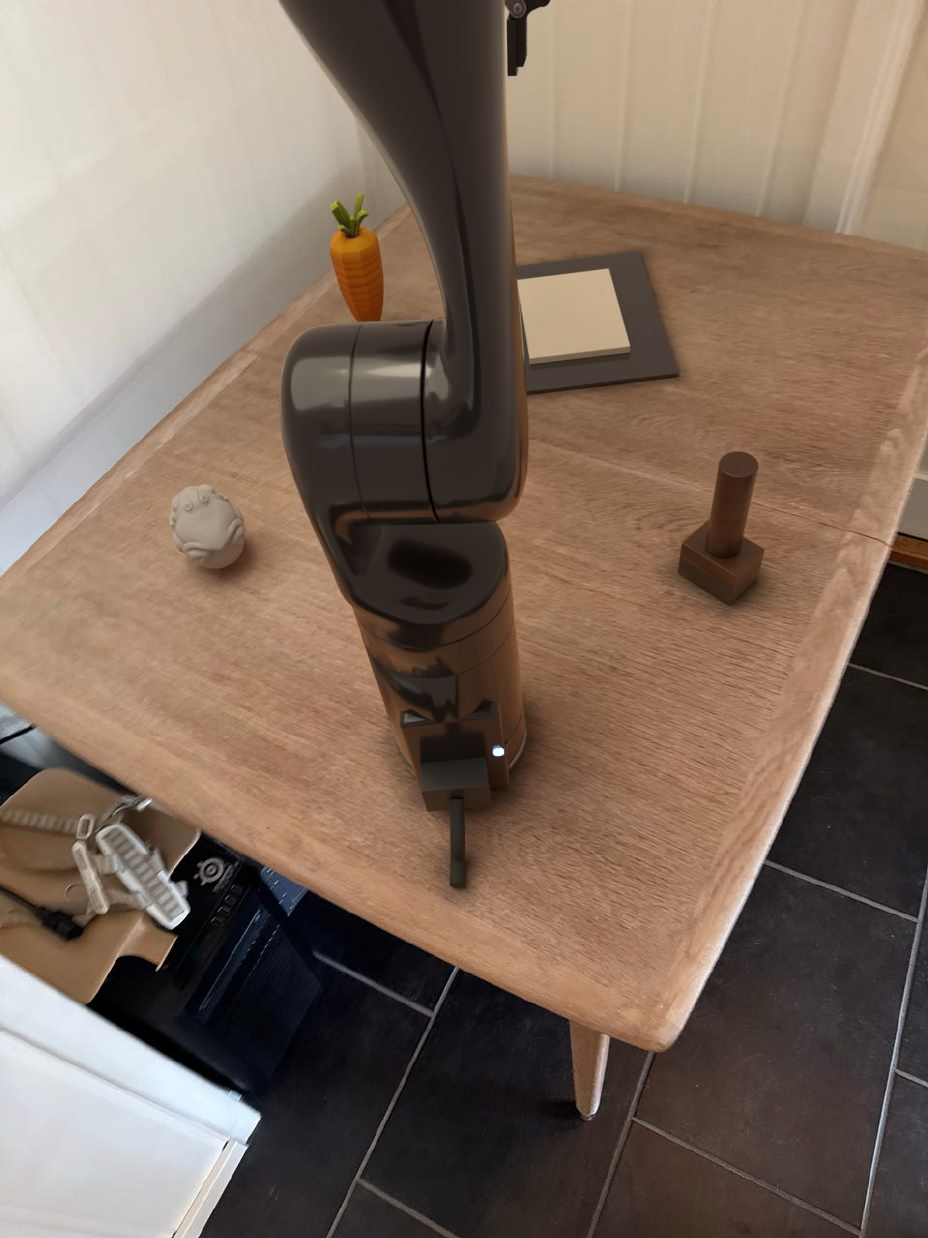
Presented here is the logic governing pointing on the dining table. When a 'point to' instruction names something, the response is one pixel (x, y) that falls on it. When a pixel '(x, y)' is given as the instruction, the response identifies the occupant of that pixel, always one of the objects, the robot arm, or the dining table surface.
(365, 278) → the carrot
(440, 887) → the dining table surface
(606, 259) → the tile
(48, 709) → the dining table surface
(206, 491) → the frog figurine
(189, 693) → the dining table surface
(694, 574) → the brown peg on block
